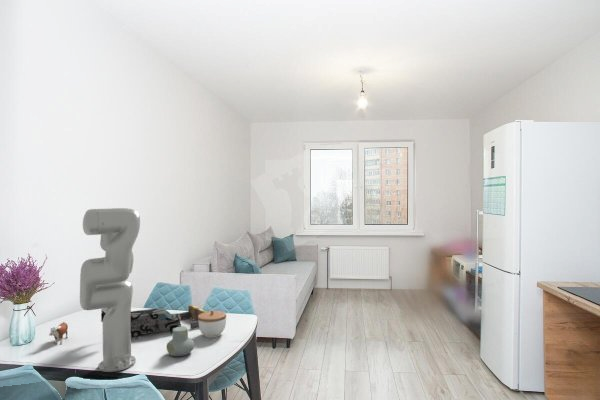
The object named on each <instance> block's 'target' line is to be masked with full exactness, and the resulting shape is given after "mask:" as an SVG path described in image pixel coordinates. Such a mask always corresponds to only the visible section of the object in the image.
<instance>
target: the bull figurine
mask: <svg viewBox="0 0 600 400" xmlns="http://www.w3.org/2000/svg"><path fill="white" fill-rule="evenodd" d="M68 329H69V328H68V324H67V323H66V322H65V321H62V322H61V323H60V324H58V326H56V327H55V326H54V327H52V328H50V332H49V334H48V336H51V337H52V336H53V337H54V340H55V342H54V345H57V344H58V342H59V346H60V345H62V346H63V337H64V335H65V339H68V338H69V336H68Z"/></svg>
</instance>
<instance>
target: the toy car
mask: <svg viewBox="0 0 600 400" xmlns="http://www.w3.org/2000/svg"><path fill="white" fill-rule="evenodd" d="M181 322H182V320H181V317H180V315H179V313H171V312H169V311H168V310H167V309H166V308H163V307H161V308H148V309H140V310H131V339H135V338H136V339H137V338H141V336H142V335H143V334H150V333H157V332H158V333H159V332H164V331H169V333H170V334H172V330H173V329H174V328H176V327H182V323H181Z"/></svg>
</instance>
